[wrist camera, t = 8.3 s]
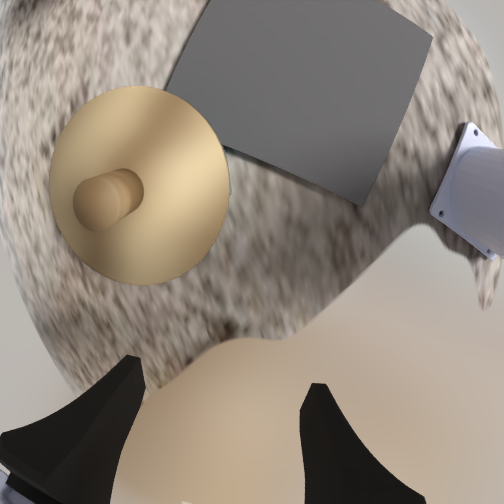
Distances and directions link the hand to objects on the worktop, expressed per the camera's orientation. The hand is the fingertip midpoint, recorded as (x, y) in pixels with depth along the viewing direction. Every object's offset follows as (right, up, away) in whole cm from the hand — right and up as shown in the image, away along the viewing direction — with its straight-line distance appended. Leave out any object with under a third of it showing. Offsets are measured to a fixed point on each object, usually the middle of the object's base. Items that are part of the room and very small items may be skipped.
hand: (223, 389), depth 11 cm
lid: (-5, +9, +3) cm, 11 cm away
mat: (+4, +17, +3) cm, 18 cm away
